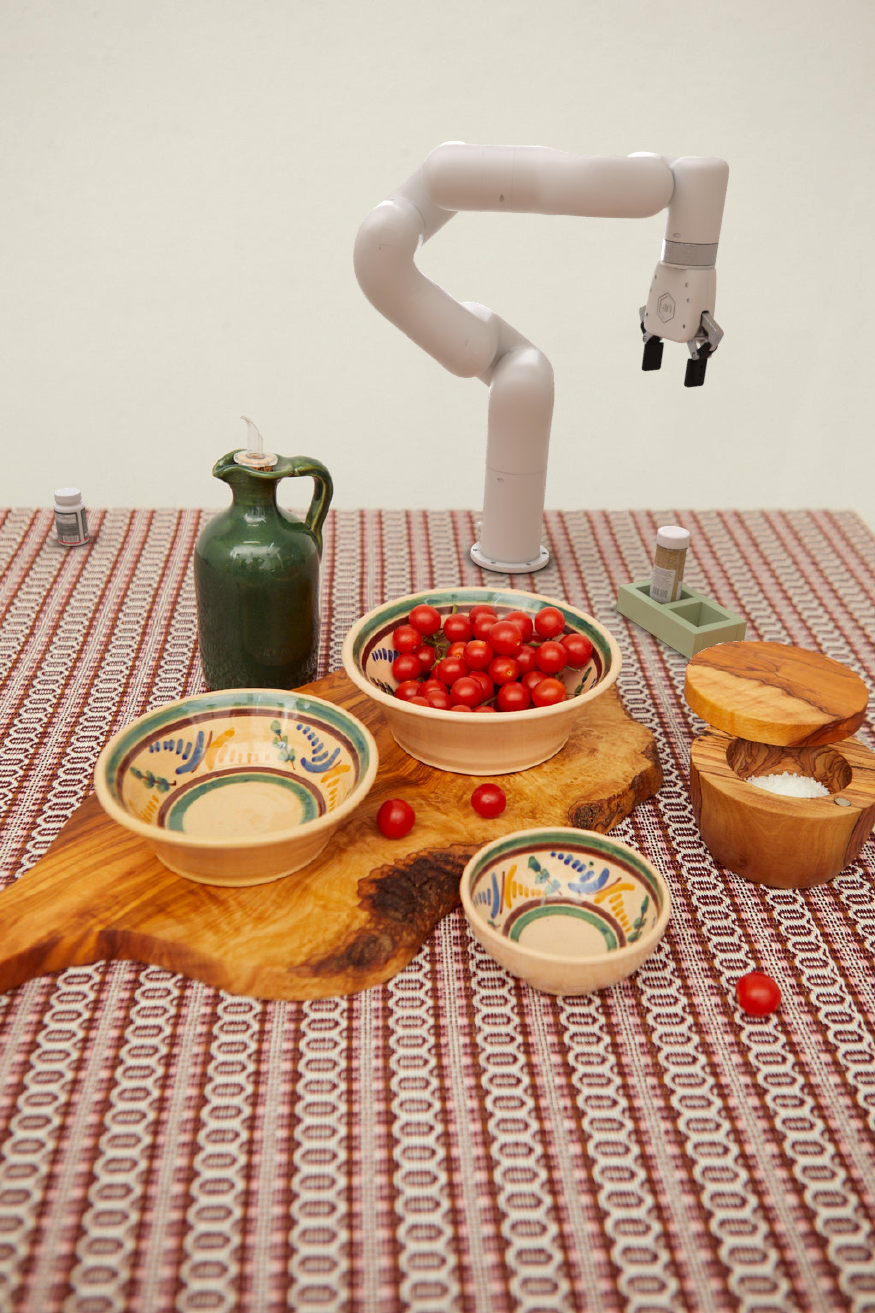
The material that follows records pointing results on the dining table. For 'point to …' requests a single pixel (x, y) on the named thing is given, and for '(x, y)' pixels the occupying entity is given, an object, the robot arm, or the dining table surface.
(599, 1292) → the dining table surface
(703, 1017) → the dining table surface
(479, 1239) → the dining table surface
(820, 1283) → the dining table surface
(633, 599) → the socket block
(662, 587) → the sprinkles bottle
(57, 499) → the pill bottle
